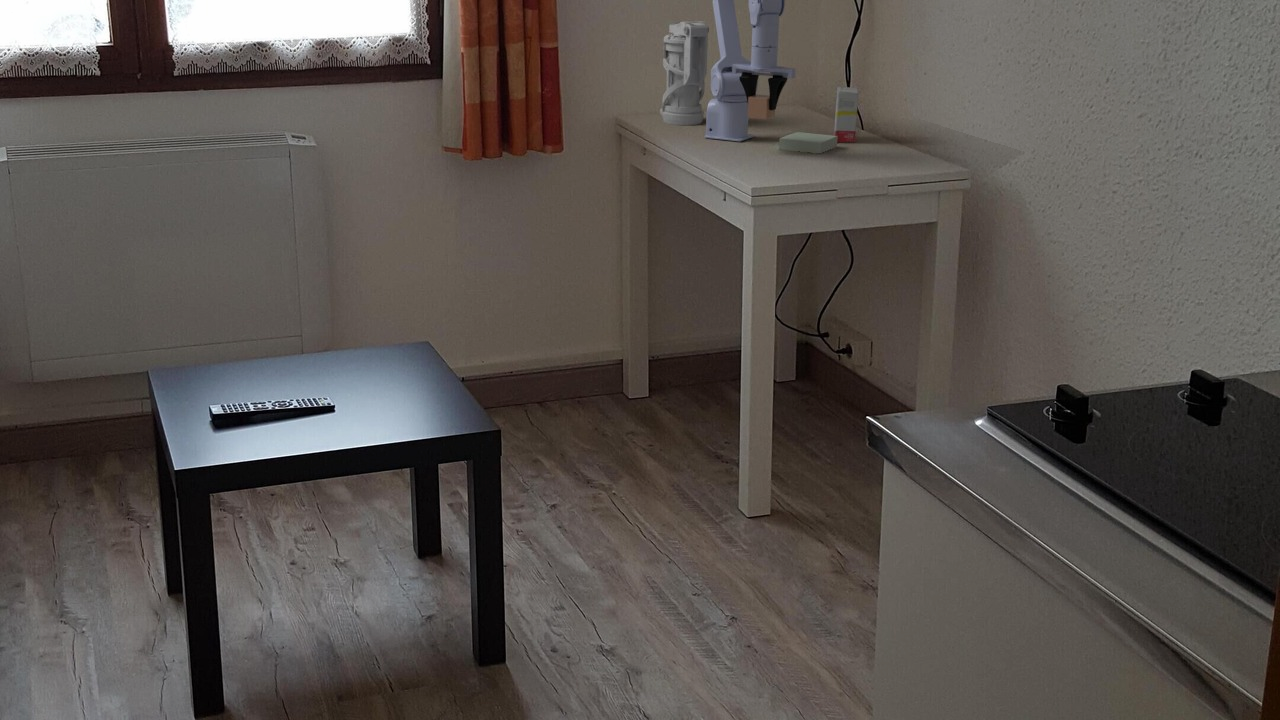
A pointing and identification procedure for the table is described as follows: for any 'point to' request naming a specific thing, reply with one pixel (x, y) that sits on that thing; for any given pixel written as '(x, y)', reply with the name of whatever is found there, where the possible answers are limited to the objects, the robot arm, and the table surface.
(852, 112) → the ink box
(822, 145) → the sage slab
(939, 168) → the table surface
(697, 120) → the lantern
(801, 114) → the table surface
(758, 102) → the terracotta cube
